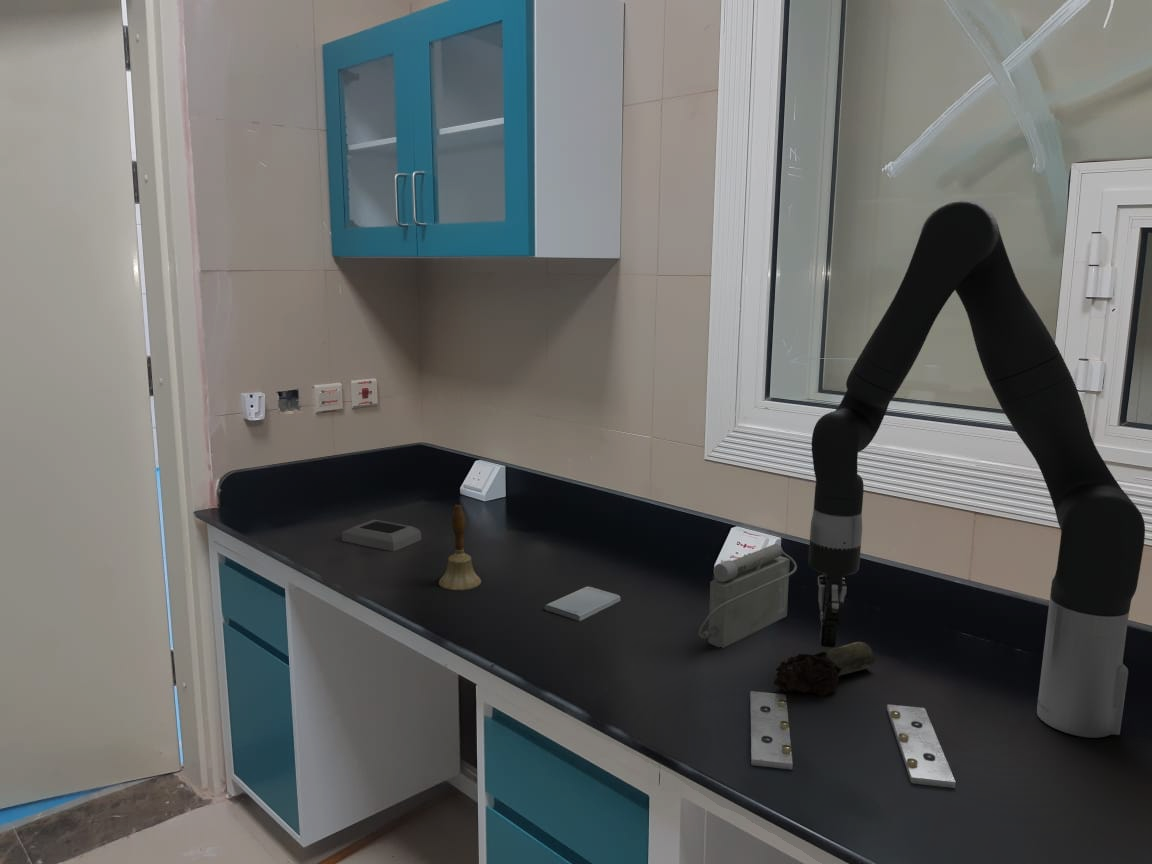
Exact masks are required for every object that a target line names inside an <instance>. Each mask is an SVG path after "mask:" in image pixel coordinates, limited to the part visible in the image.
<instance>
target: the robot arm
mask: <svg viewBox="0 0 1152 864" xmlns="http://www.w3.org/2000/svg"><path fill="white" fill-rule="evenodd" d="M954 292H955V293H956V294H957V296H958V298H959V300H960V302H961V304H962V306H963V307H964V310H965V312H966V315H967V317H968V321H969V324H970V328H971V329H970V330H971V333H972V337H973V340H974V344H975V348H976V351H977V353H978V356H979V360H980V363H981V366H982V369H983V371H984V373H985V376H986V378H987V381H988V384H989V385H990V387H991V389H992V391H993V393H994V396H995V397H996V400H997V401H998V403H999V405H1000V407H1001V409H1002V411H1003V412H1004V414H1005V416H1006V418H1007V420H1008V421H1009V423H1010V424H1011V426H1012V427H1013V429H1014V431H1015V432H1016V434H1017V436H1018V437H1019V438H1020V439H1021V441H1022V442H1023V444H1024V445H1025V447H1026V448H1027V449H1028V450H1029V452H1030V454H1031V455H1032V457H1033V458H1034V460H1035V461H1036V464H1037V465H1038V467H1039V470H1040V472H1041V475H1042V477H1043V479H1044V483H1045V485H1046V487H1047V490H1048V493H1049V496H1050V499H1051V501H1052V504H1053V505H1052V506H1053V508H1054V511H1055V515H1056V519H1057V522H1058V526H1059V529H1060V540H1059V550H1058V556H1057V565H1056V570H1055V574H1054V576H1053V578H1052V579H1051V587H1050V594H1049V595H1050V597H1049V604H1048V612H1047V619H1046V620H1047V621H1046V628H1045V629H1046V630H1045V636H1044V637H1045V638H1044V646H1043V653H1042V656H1043V657H1042V663H1041V672H1040V679H1039V688H1038V689H1039V690H1038V695H1037V706H1036V714H1037V717H1039V719H1040V720H1041V721H1043V722H1044V723H1045V724H1046V725H1048V726H1050V727H1051V728H1053V729H1055V730H1057V731H1060V732H1063V733H1065V734H1069V735H1072V736H1077V737H1081V738H1090V739H1091V738H1095V739H1097V738H1098V739H1099V738H1105V737H1108V736H1111V735H1114V736H1120V735H1121V727H1122V720H1123V714H1124V713H1123V712H1124V705H1125V699H1126V691H1127V683H1128V677H1129V669H1128V667H1127V666H1126V665H1125V664H1124V663H1123V660H1124V655H1125V654H1124V653H1125V646H1126V637H1127V630H1128V622H1129V615H1130V609H1131V605H1132V604H1131V603H1132V600H1133V597H1134V596H1135V594H1136V591H1137V588H1138V584H1139V583H1138V581H1139V577H1140V572H1141V571H1140V570H1141V565H1142V559H1143V553H1144V546H1145V540H1146V539H1145V538H1146V526H1145V520H1144V517H1143V515H1142V513H1141V511H1140V510H1139V507H1137V505H1136V504H1135V503H1134V501H1132V499H1131V498H1130V497H1129V496H1128V495H1127V493H1126V492H1125V491H1124V490H1123V489H1122V487H1121V486H1120V484H1119V483H1118V481H1117V480H1116V479H1115V477H1114V475H1113V473H1112V472H1111V471H1110V469H1109V468H1108V466H1107V464H1106V463H1105V461H1104V459H1103V458H1102V455H1101V454H1100V453H1099V451H1098V448H1097V447H1096V444H1095V443H1094V441H1093V438H1092V435H1091V432H1090V428H1089V425H1088V421H1087V417H1086V413H1085V410H1084V406H1083V403H1082V399H1081V397H1080V394H1079V391H1078V389H1077V385H1076V383H1075V381H1074V379H1073V376H1072V374H1071V372H1070V370H1069V368H1068V366H1067V364H1066V362H1065V360H1064V358H1063V355H1062V354H1061V352H1060V350H1059V348H1058V346H1057V344H1056V342H1055V341H1054V339H1053V337H1052V336H1051V334H1050V331H1049V330H1048V329H1047V326H1046V325H1045V323H1044V322H1043V320H1042V319H1041V316H1040V315H1039V313H1038V312H1037V310H1036V309H1035V308H1034V307H1035V306H1033V304H1032V303H1031V301H1030V300H1029V298H1028V297H1027V295H1026V293H1025V292H1024V290H1023V289H1022V287H1021V285H1020V283H1019V281H1018V279H1017V277H1016V274H1015V272H1014V269H1013V265H1012V263H1011V261H1010V258H1009V256H1008V253H1007V250H1006V247H1005V244H1004V240H1003V238H1002V235H1001V231H1000V227H999V224H998V222H997V219H996V217H995V216H994V213H992V211H991V210H989V209H988V208H987V207H986V206H984V205H982V204H980V203H978V202H976V201H975V202H974V201H968V200H954V201H950V202H947V203H944V204H942V205H940V206H938V207H937V208H936V209H934V210H932V212H931V213H930V214H929V215H928V216H927V217H926V219H925V221H924V222H923V225H922V227H921V229H920V234H919V238H918V240H917V244H916V245H915V248H914V251H913V254H912V257H911V259H910V262H909V264H908V267H907V269H906V272H905V274H904V277H903V279H902V281H901V283H900V285H899V287H898V289H897V292H896V293H895V295H894V297H893V299H892V300H891V303H890V305H889V306H888V308H887V310H886V311H885V312H884V314H883V316H882V317H881V319H880V321H879V323H878V324H877V325H876V327H875V329H874V330H873V332H872V334H871V335H870V338H869V339H868V341H867V343H866V344H865V346H864V348H863V349H862V350H861V353H860V355H859V356H858V358H857V360H856V361H855V363H854V365H853V368H852V369H851V370H850V372H849V374H848V376H847V378H846V381H845V382H846V384H845V385H846V392H845V394H844V396H843V397H842V400H841V401H840V403H839V405H838V407H836V408H835V410H834V411H831V412H828V413H825V414H824V415H822V416H821V417H820V418H819V419H818V420H817V422H816V423H815V425H814V427H813V431H812V436H811V454H812V455H811V456H812V463H813V472H814V477H815V487H814V497H813V498H814V499H813V510H812V515H811V521H810V532H809V533H810V534H809V546H808V559H807V562H808V563H807V564H808V566H809V568H811V569H813V570H814V571H815V572H818V573H822V574H820V575H818V577H817V585H818V598H817V599H818V600H817V601H818V605H819V607H818V609H819V611H820V613H819V618H820V634H819V642H820V646H822V647H826V648H834V647H836V641H837V631H838V629H837V628H838V627H840V625H841V623H842V618H843V614H844V609H845V607H846V605H845V602H844V601H845V597H846V595H847V586H848V585H847V583H846V582H845V581H846V579H845V576H848V575H849V576H850V575H854V574H856V573H857V572H858V571H859V570H860V562H861V552H862V551H861V549H862V538H863V537H862V535H863V502H864V491H865V490H864V489H865V488H864V480H863V477H862V476H860V474H859V473H858V457H859V453H860V452H862V451H863V450H865V449H866V448H867V447H868V446H869V444H870V443H871V442H872V441H873V439H874V437H875V436H876V434H877V433H878V431H879V429H880V427H881V424H882V422H883V420H884V417H885V415H886V413H887V412H888V411H887V410H888V408H889V405H890V403H891V402H892V399H893V398H894V397H895V395H896V394H897V392H898V391H899V390H900V388H901V386H902V384H903V382H904V381H905V380H906V377H907V376H908V374H909V372H910V371H911V369H912V367H913V365H914V364H915V362H916V360H917V358H918V357H919V354H920V352H921V350H922V348H923V347H924V345H925V342H926V340H927V338H928V335H929V333H930V331H931V329H932V328H933V325H934V324H935V321H936V319H937V318H938V316H939V314H940V313H941V311H942V309H943V308H944V307H945V304H946V303H947V302H948V301H949V299H950V297H951V296H952V294H953V293H954Z"/></svg>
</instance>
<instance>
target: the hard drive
mask: <svg viewBox="0 0 1152 864" xmlns="http://www.w3.org/2000/svg"><path fill="white" fill-rule="evenodd" d="M621 600H622V599H621V596H620V595H619V594H617V593H613V592H609V591H605V590H602V589H600V588H595V587H592V586H585V587H583V588H580V589H578V590H576V591H574V592H571V593H569V594H566V595H565V596H563V597H560V598H558V599H556V600H554V601H552V602H549V603H547V604H545V605H544V610H545V611H547V612H551V613H554V614H557V615H560V616H562V617H566V618H568V619H572V620H576V621H578V622H581V621H583V620H585V619H587V618H590V617H591V616H593V615H595V614H597V613H600V612H601V611H603V610H605V609H607V608H609V607H611V606H613V605H615V604H616V603H619V602H621Z"/></svg>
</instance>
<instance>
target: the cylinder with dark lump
mask: <svg viewBox="0 0 1152 864" xmlns="http://www.w3.org/2000/svg"><path fill="white" fill-rule="evenodd" d="M874 663H875V655H874V652H873V649H872V648H871V647H870V646H869V644H867V643H866V642H863V641H855V642H851V643H848V644H844V645H841V646H837V647H835V648H834V647H833V648H831V649H828V650H825V651H822V652H817V653H815V654H806V653H805V654H803V653H798V654H797V655H796V656H790V657H788V658H787V661H781V662H780V665H778V666H777V667H776V669H775V671H777V673H776V677H775V678H774V681H773V684H774V685H775V686H776V687H778V688H779V687H780V689H781V690H782V691H783V692H789V693H791V692H794V691H795V692H802V693H804V694H808V693H812V694H816V695H818V696H826V695H827V694H831V693H833V692H835V691H836V689H837V688H838V686H839V680H840V678H839V677H840V676H844V675H848V674H853V673H855V672H859V671H863V670H866V669H868V668H871V667H872V666H873V665H874Z"/></svg>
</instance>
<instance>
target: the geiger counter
mask: <svg viewBox="0 0 1152 864" xmlns="http://www.w3.org/2000/svg"><path fill="white" fill-rule="evenodd" d="M782 555H783V556H782ZM784 556H785V557H784ZM790 562H792V564H793V565H794V567H793V569H792V571H790ZM797 569H798V565H797V563H796V561H795V560H794V558H792V557H791V556H790V555H788V554H787V553H786V552H784V550H783V547H782V546H781V545H780V544H778V543H774V544H772V545H769V546H766V547H763V548H761V549H759V550H756V551H753V552H752V553H751V552H750V553H747V554H746V555H743V556H741V557H739V558H736V559H733V560H730V559H728V560H724V561H722V562H720V563H717V564H715V566H714V567H713V570H712V571H713V575H714V578H715V579H713V580H712V581H710V582H709V583H710V584H709V585H710V586H709V612H708V613H709V614H708V615H707V617H706V618H705V619H704V621H703V622H702V624H701V625H700V626H699V631H698V637H700V638H702V639H704V640H705V639H707V638H708V644H710V645H712V646H714V647H717V648H720V647H722V648H721V649H724V647H725V648H726V646H727V647H729V646H730V644H731V645H732V644H734V643H737V642H738V641H740V640H742V639H744V638H746V637H748V636H751V635H752V634H754V633H756V632H759V631H760V630H762V629H764V628H766V627H768V626H770V625H773V624H774V623H776V622H778V621H780V620H783V619H784V618H786V617H787V615H788V602H789V601H788V597H789V595H788V594H789V579H790V576H792V575H793V574H795V572H797ZM707 623H708V629H705V631H703V629H704V628H705V626H706V625H707ZM702 631H703V632H702Z"/></svg>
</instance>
